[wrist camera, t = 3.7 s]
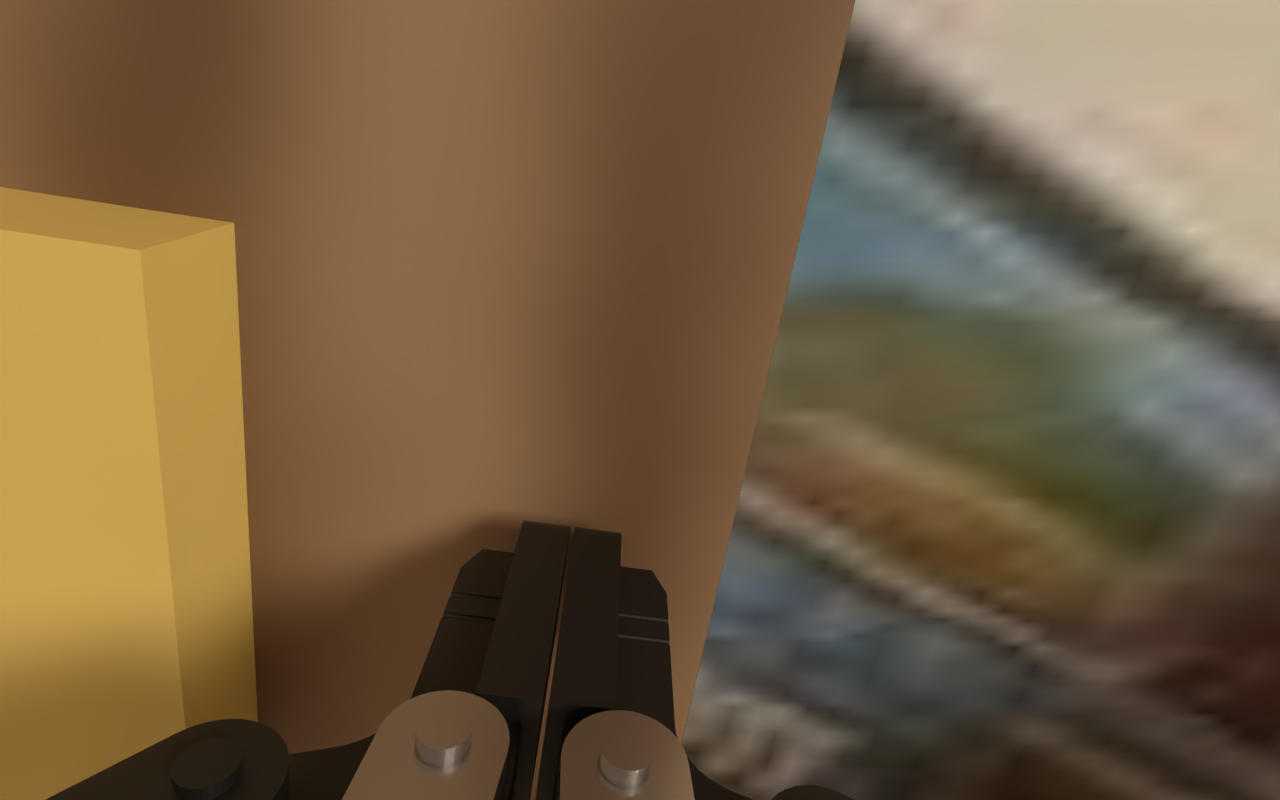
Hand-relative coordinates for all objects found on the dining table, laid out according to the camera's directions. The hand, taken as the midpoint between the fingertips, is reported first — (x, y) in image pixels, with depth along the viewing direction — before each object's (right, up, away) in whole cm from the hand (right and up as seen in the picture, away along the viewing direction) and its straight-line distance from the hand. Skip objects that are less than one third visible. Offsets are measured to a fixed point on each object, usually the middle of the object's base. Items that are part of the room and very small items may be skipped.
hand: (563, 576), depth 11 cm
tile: (-8, +1, 0) cm, 8 cm away
